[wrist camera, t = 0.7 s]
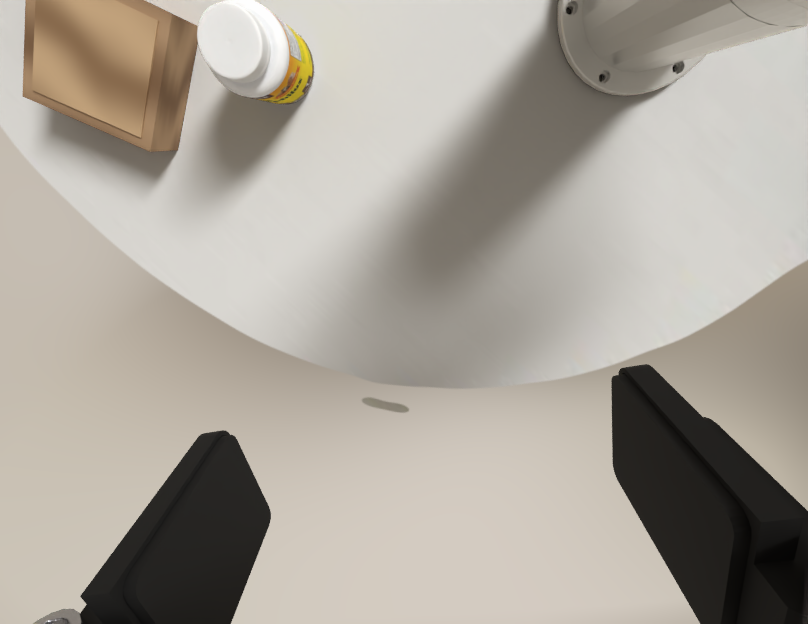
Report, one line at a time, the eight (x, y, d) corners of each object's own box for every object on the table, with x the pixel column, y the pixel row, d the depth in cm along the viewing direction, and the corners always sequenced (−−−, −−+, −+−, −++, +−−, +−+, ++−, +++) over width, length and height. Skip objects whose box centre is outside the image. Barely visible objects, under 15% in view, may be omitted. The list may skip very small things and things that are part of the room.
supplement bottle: (267, 114, 35) (209, 107, 25) (238, 41, 33) (164, 4, 23) (326, 92, 34) (289, 76, 24) (301, 16, 32) (250, -33, 22)
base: (74, -34, 31) (25, -57, 27) (200, 27, 32) (170, 13, 28) (64, 100, 35) (21, 96, 31) (177, 150, 36) (149, 151, 32)
